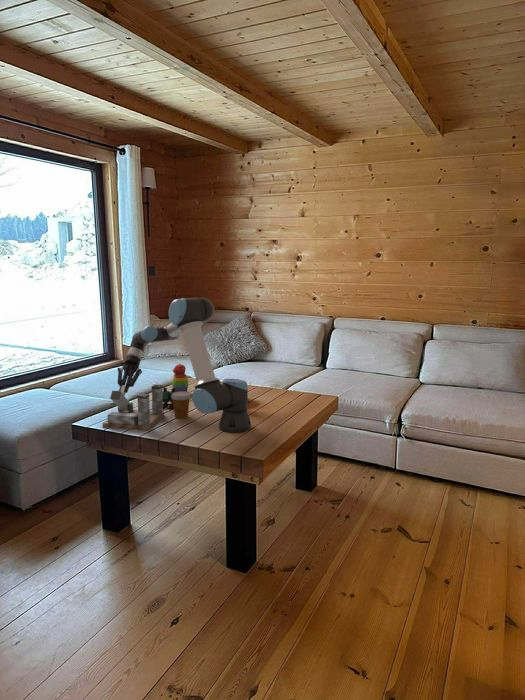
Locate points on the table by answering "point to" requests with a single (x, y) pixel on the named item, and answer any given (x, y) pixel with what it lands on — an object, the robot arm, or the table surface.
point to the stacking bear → (180, 378)
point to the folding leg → (119, 400)
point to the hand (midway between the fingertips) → (121, 398)
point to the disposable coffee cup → (181, 404)
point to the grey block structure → (139, 412)
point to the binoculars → (168, 398)
